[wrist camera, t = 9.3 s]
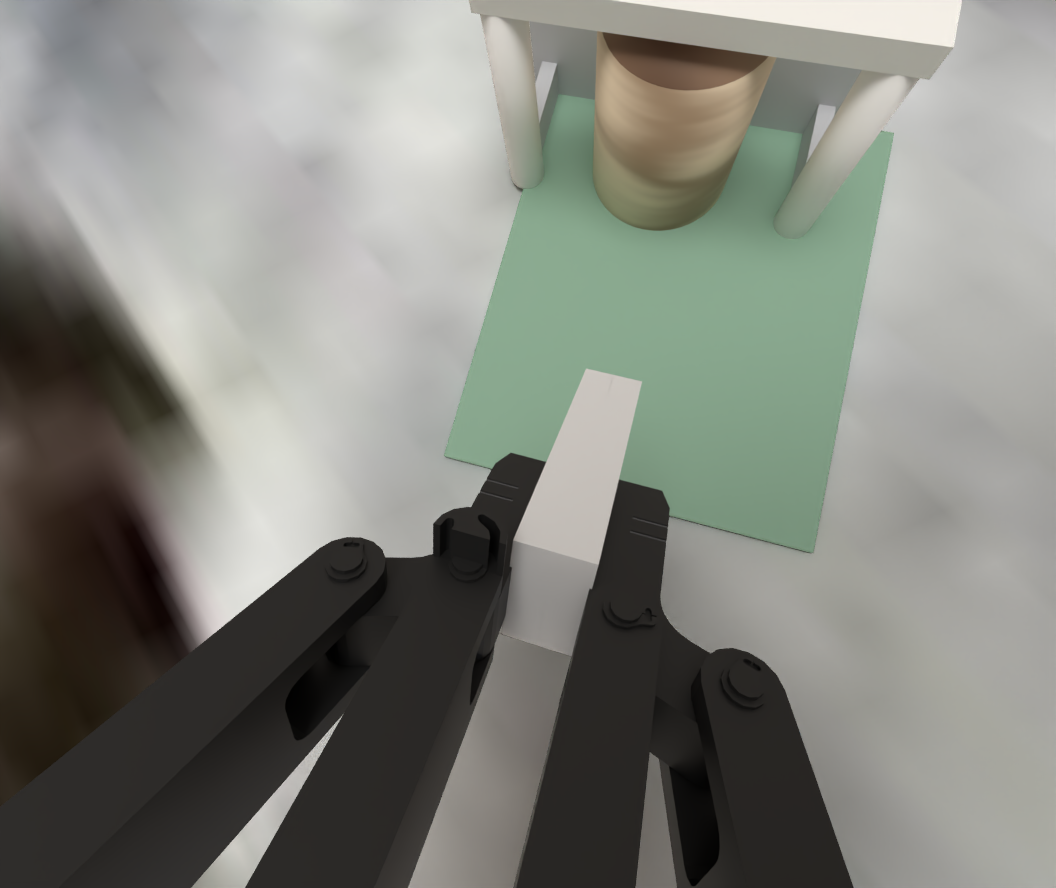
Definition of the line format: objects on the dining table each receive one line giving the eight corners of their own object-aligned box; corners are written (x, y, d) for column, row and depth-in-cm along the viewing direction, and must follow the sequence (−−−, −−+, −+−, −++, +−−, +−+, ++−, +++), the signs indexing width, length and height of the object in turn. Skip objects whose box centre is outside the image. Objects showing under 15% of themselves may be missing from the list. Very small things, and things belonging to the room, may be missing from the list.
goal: (831, 124, 29) (985, -132, 18) (806, 242, 28) (953, 47, 17) (539, 78, 31) (517, -177, 20) (507, 185, 30) (464, -21, 19)
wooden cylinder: (731, 115, 29) (797, -71, 21) (721, 235, 28) (786, 95, 19) (600, 108, 30) (608, -72, 21) (585, 225, 29) (587, 86, 20)
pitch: (889, 138, 29) (894, 133, 28) (809, 552, 26) (813, 553, 25) (556, 84, 31) (555, 78, 31) (445, 456, 28) (443, 455, 28)
